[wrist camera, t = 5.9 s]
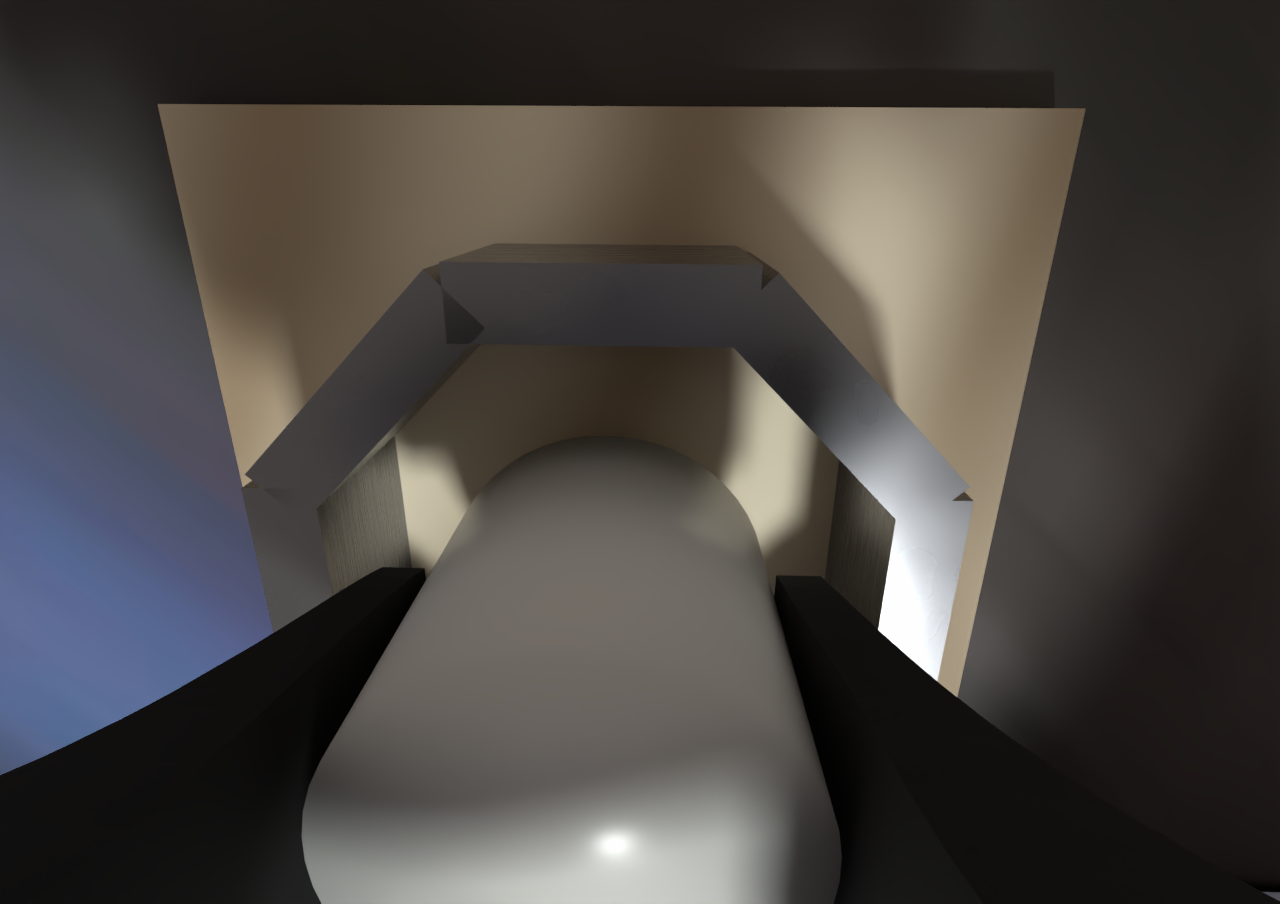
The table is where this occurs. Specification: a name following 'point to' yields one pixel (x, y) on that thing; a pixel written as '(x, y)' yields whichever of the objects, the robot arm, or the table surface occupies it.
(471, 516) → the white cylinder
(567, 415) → the mount plate
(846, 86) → the table surface
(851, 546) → the lens ring
